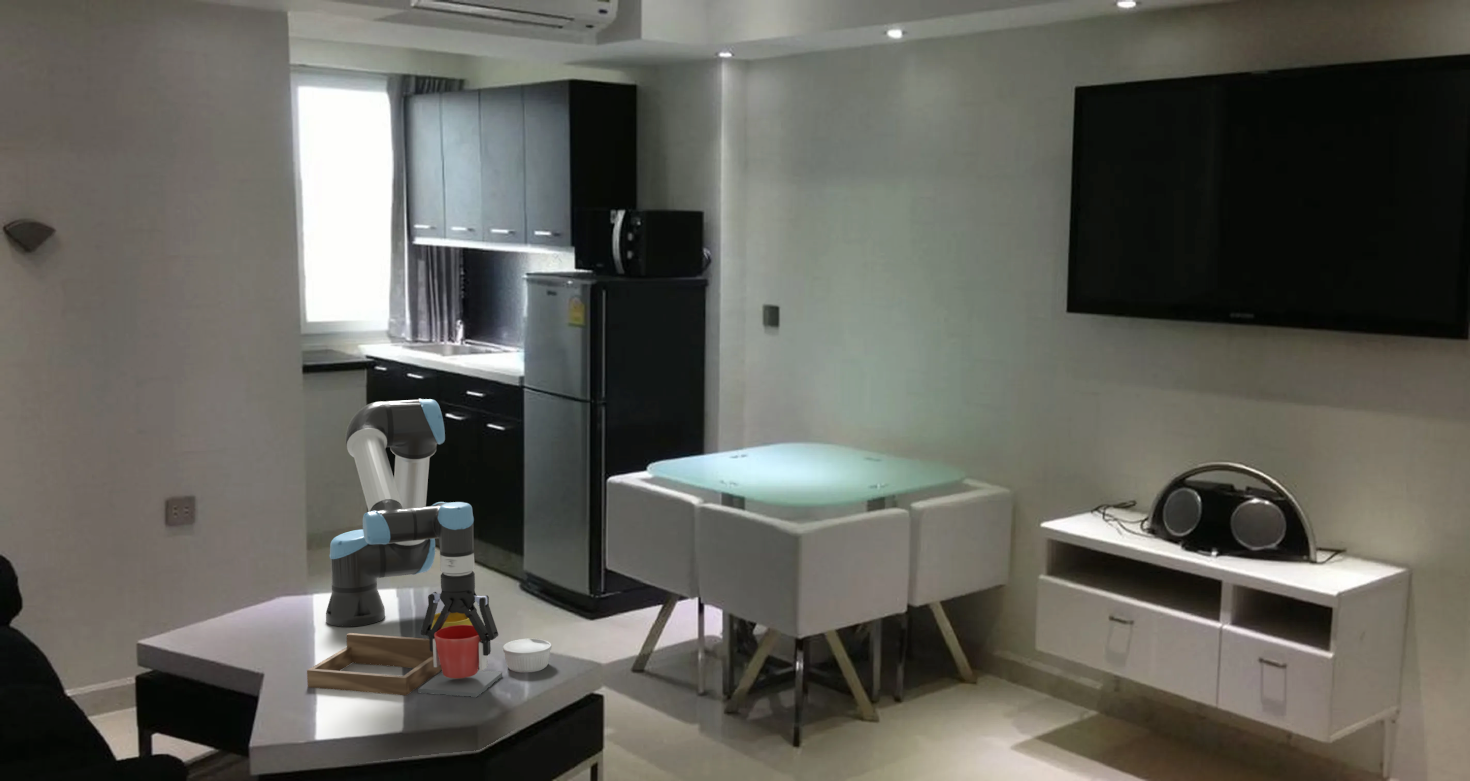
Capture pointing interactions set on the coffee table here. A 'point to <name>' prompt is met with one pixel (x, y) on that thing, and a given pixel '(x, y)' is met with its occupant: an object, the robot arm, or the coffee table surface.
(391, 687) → the frame
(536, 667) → the ramekin
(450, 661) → the flower pot
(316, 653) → the coffee table surface
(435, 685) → the rubber mat
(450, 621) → the plant pot
